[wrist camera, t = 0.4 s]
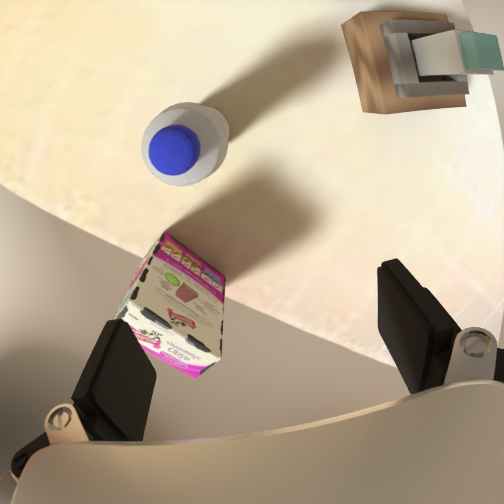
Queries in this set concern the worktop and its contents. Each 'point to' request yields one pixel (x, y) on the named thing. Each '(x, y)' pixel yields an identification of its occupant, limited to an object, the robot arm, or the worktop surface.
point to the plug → (456, 53)
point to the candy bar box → (176, 307)
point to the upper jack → (398, 63)
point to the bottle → (185, 143)
